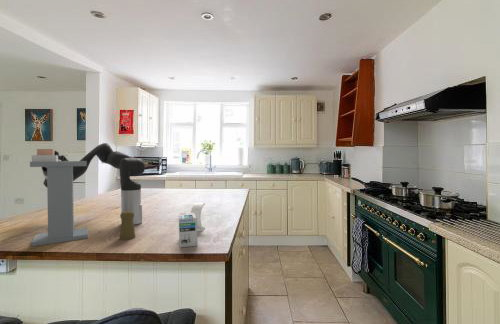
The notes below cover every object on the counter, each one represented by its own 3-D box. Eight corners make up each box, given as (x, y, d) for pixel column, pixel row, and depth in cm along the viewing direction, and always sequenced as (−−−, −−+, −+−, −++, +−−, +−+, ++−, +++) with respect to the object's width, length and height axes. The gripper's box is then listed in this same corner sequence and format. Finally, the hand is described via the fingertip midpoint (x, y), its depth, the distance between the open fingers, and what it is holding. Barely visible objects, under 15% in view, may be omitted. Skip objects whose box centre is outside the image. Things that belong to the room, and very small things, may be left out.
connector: (56, 161, 118) (56, 150, 118) (52, 161, 103) (52, 149, 103) (43, 161, 115) (42, 150, 115) (36, 161, 101) (36, 148, 101)
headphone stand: (205, 228, 121) (204, 202, 121) (199, 231, 115) (199, 205, 115) (195, 227, 122) (195, 202, 122) (190, 231, 116) (190, 204, 116)
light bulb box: (197, 246, 96) (197, 217, 96) (179, 248, 94) (178, 218, 94) (195, 237, 106) (195, 211, 106) (178, 239, 104) (178, 213, 104)
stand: (87, 230, 117) (86, 155, 117) (87, 238, 106) (86, 155, 106) (36, 237, 107) (35, 155, 107) (31, 246, 97) (29, 155, 96)
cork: (129, 240, 103) (128, 213, 103) (116, 239, 104) (115, 212, 104) (138, 235, 109) (138, 210, 109) (126, 235, 110) (125, 209, 110)
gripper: (70, 176, 127) (68, 159, 115) (33, 178, 120) (26, 159, 107) (70, 163, 131) (68, 145, 118) (34, 164, 123) (28, 144, 110)
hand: (48, 152), depth 113 cm, fingers open, 4 cm apart
